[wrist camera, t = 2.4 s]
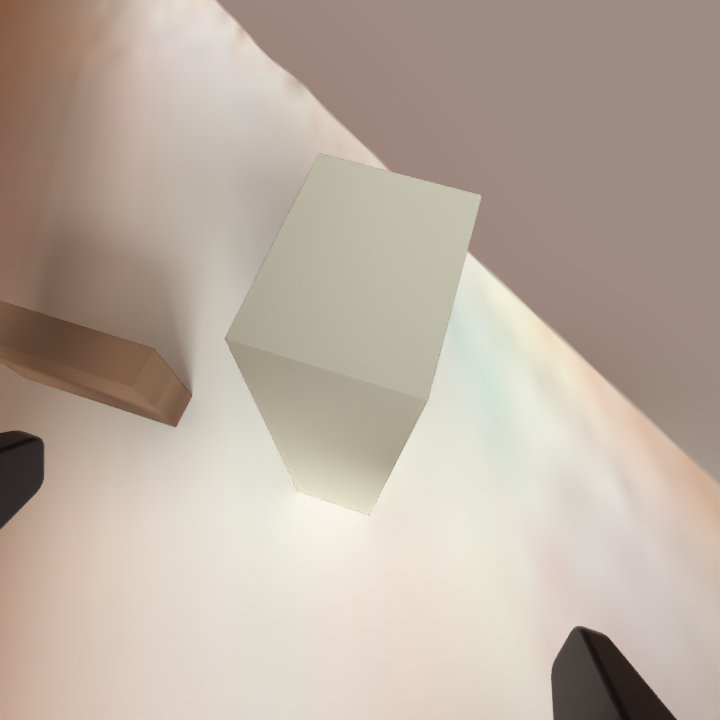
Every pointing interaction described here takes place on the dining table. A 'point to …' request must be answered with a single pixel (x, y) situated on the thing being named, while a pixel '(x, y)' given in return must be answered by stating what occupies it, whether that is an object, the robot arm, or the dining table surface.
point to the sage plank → (352, 322)
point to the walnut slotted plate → (90, 364)
